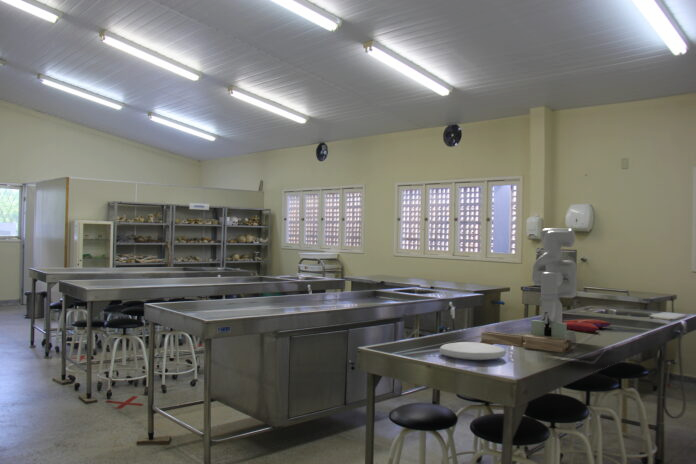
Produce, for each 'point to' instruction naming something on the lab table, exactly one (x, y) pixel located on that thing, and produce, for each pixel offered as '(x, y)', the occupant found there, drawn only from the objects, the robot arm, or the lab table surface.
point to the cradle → (502, 338)
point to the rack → (547, 343)
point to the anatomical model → (586, 325)
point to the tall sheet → (556, 329)
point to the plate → (472, 351)
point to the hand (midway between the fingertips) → (548, 335)
